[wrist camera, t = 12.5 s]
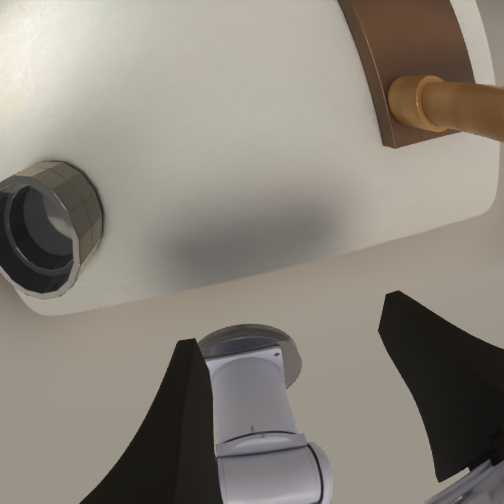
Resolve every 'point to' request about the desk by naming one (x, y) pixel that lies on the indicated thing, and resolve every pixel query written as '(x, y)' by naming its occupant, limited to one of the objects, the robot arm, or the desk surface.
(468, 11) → the desk surface
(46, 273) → the mortar
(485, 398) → the robot arm
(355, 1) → the walnut board
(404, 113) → the pestle
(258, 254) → the desk surface
